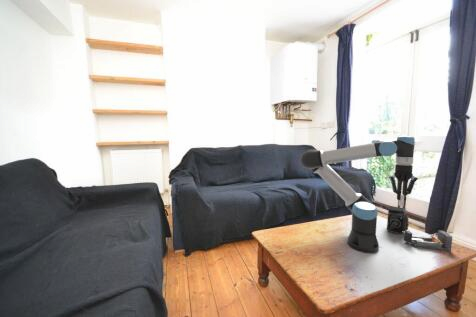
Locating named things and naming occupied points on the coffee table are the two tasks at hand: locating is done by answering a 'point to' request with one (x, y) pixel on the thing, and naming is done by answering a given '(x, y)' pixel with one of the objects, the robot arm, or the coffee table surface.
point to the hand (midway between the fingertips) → (400, 205)
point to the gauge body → (427, 243)
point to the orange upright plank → (435, 239)
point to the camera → (397, 220)
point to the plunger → (410, 237)
